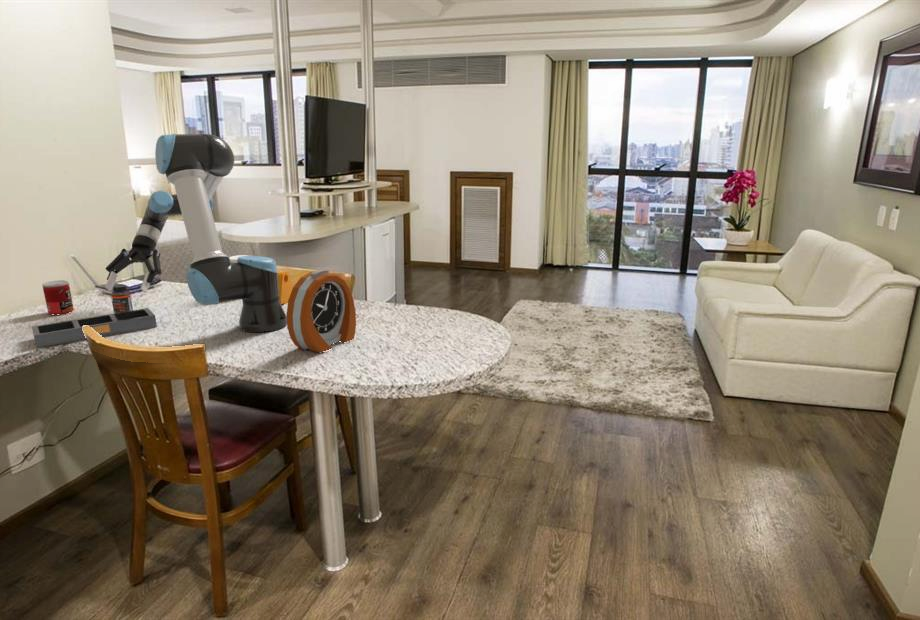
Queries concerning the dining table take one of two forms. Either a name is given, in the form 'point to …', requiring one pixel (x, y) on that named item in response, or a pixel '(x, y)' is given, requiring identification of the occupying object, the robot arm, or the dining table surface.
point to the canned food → (58, 297)
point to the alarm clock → (320, 311)
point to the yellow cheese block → (284, 286)
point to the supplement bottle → (121, 299)
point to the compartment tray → (100, 324)
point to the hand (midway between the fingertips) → (125, 289)
